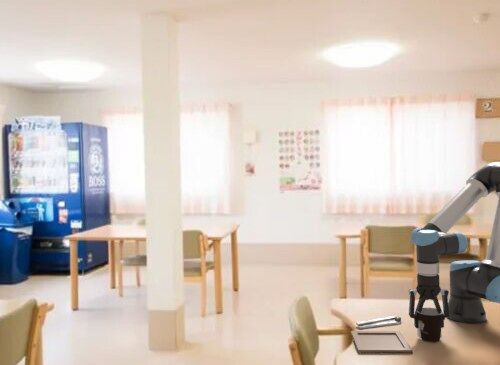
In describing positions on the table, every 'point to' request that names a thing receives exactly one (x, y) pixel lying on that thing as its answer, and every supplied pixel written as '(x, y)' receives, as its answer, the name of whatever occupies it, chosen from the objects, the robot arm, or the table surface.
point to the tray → (381, 342)
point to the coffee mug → (430, 324)
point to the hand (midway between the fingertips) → (429, 336)
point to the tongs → (370, 323)
